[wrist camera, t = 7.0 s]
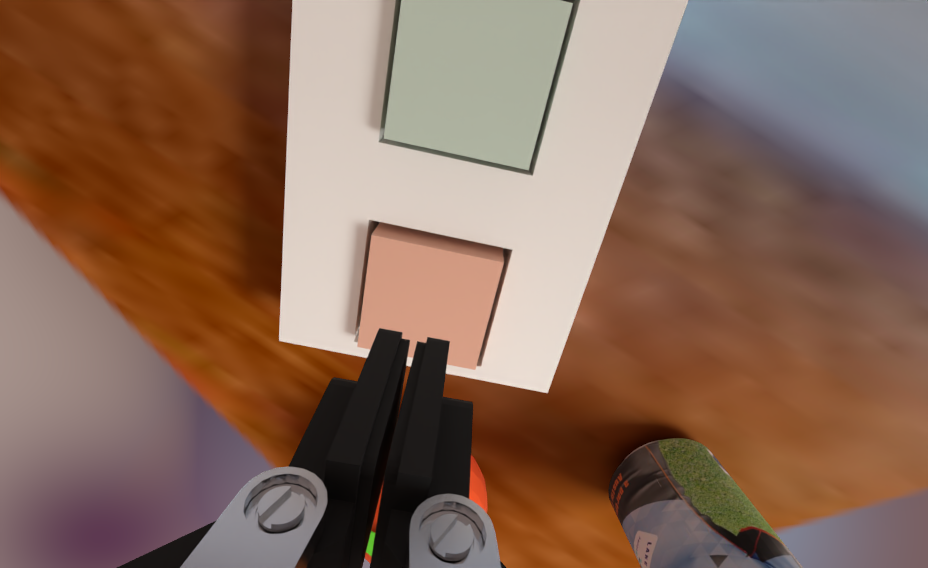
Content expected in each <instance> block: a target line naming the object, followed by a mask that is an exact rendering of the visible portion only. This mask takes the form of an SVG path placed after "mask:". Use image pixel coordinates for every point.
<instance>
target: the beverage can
mask: <svg viewBox="0 0 928 568" xmlns="http://www.w3.org/2000/svg"><path fill="white" fill-rule="evenodd" d="M609 498H610V501H611V504H612V506H613V508H614V510H615V512H616V515H617V517H618V519H619V521H620V523H621V525H622V527H623V529H624V531H625V534H626V536H627V538H628V540H629V542H630V544H631V546H632V548H633V550H634V553H635V555H636V557H637V559H638V561H639V563H640V565H641V567H642V568H803V567H802V566H801V564H800V563H799V562H798V561H797V559H796V558H795V557H794V556H793V554H792V553H791V552H790V551H789V549H788V548H787V547H786V546H785V545H784V543H783V542H782V541H781V540H780V538H779V537H778V536H777V534H776V533H775V532H774V531H773V529H772V528H771V527H770V526H769V524H768V523H767V522H766V521H765V519H764V518H763V517H762V515H761V514H760V513H759V512H758V510H757V509H756V508H755V507H754V505H753V504H752V503H751V502H750V500H749V499H748V498H747V497H746V495H745V494H744V493H743V492H742V490H741V489H740V488H739V487H738V485H737V484H736V483H735V482H734V480H733V479H732V478H731V477H730V475H729V474H728V473H727V472H726V470H725V469H724V468H723V467H722V465H721V464H720V463H719V461H718V460H717V459H716V458H715V456H714V455H713V454H712V453H711V452H710V450H709V449H708V448H707V447H705V446H704V445H702V444H701V443H699V442H696V441H694V440H690V439H684V438H671V439H664V440H657V441H653V442H650V443H647V444H644V445H643V446H641V447H639V448H637V449H636V450H634V451H633V452H631V453H630V454H629V455H628V456H627V457H626V458H625V459H624V460H623V462H622V463H621V464H620V465H619V466H618V467H617V469H616V470H615V472H614V474H613V476H612V478H611V481H610V484H609Z"/></svg>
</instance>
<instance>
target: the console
mask: <svg viewBox="0 0 928 568" xmlns="http://www.w3.org/2000/svg"><path fill="white" fill-rule="evenodd" d="M561 1H565V2H570V3H573V5H572V9H571V13H570V16H569V20H568V24H567V28H566V31H565V35H564V39H563V43H562V46H561V50H560V54H559V58H558V61H557V65H556V69H555V73H554V76H553V80H552V84H551V88H550V91H549V95H548V99H547V103H546V106H545V110H544V114H543V118H542V122H541V125H540V129H539V133H538V137H537V140H536V144H535V148H534V152H533V155H532V159H531V163H530V167H529V170H525V169H520V168H516V167H511V166H507V165H502V164H498V163H493V162H489V161H484V160H479V159H475V158H470V157H466V156H461V155H457V154H452V153H448V152H443V151H438V150H434V149H429V148H425V147H420V146H416V145H411V144H407V143H402V142H397V141H393V140H388V139H384V132H385V124H386V117H387V109H388V101H389V93H390V85H391V77H392V69H393V61H394V54H395V46H396V38H397V30H398V22H399V14H400V6H401V0H292V26H291V51H290V76H289V102H288V127H287V152H286V177H285V203H284V228H283V253H282V279H281V304H280V329H279V341H283V342H288V343H293V344H298V345H303V346H309V347H314V348H319V349H324V350H329V351H334V352H339V353H344V354H349V355H355V356H360V357H365V358H367V357H368V354H369V352H370V349H365V348H360V347H357V344H358V337H359V329H360V321H361V313H362V305H363V297H364V289H365V282H366V274H367V266H368V258H369V250H370V242H371V235H372V233H373V232H374V230H375V229H376V227H377V226H378V224H379V223H380V222H383V223H388V224H393V225H397V226H402V227H407V228H412V229H416V230H421V231H426V232H431V233H435V234H440V235H445V236H450V237H454V238H459V239H464V240H469V241H473V242H478V243H483V244H488V245H492V246H497V247H502V248H503V258H504V264H503V268H502V272H501V276H500V279H499V283H498V287H497V291H496V294H495V298H494V302H493V306H492V309H491V313H490V317H489V321H488V324H487V328H486V332H485V336H484V339H483V343H482V347H481V351H480V354H479V358H478V362H477V366H476V369H475V370H472V369H467V368H462V367H457V366H452V365H447V367H446V373H447V374H452V375H457V376H462V377H467V378H472V379H478V380H483V381H488V382H493V383H498V384H503V385H508V386H513V387H518V388H524V389H529V390H534V391H539V392H544V393H548V391H549V388H550V385H551V382H552V379H553V377H554V374H555V371H556V368H557V366H558V363H559V360H560V357H561V354H562V352H563V349H564V346H565V343H566V340H567V338H568V335H569V332H570V329H571V326H572V324H573V321H574V318H575V315H576V313H577V310H578V307H579V304H580V301H581V299H582V296H583V293H584V290H585V287H586V285H587V282H588V279H589V276H590V274H591V271H592V268H593V265H594V262H595V260H596V257H597V254H598V251H599V248H600V246H601V243H602V240H603V237H604V234H605V232H606V229H607V226H608V223H609V221H610V218H611V215H612V212H613V209H614V207H615V204H616V201H617V198H618V195H619V193H620V190H621V187H622V184H623V181H624V179H625V176H626V173H627V170H628V168H629V165H630V162H631V159H632V156H633V154H634V151H635V148H636V145H637V142H638V140H639V137H640V134H641V131H642V128H643V126H644V123H645V120H646V117H647V115H648V112H649V109H650V106H651V103H652V101H653V98H654V95H655V92H656V89H657V87H658V84H659V81H660V78H661V76H662V73H663V70H664V67H665V64H666V62H667V59H668V56H669V53H670V50H671V48H672V45H673V42H674V39H675V36H676V34H677V31H678V28H679V25H680V23H681V20H682V17H683V14H684V11H685V9H686V6H687V3H688V0H561ZM412 360H413V358H411V357H408V358H407V364H406V366H411V364H412Z"/></svg>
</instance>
